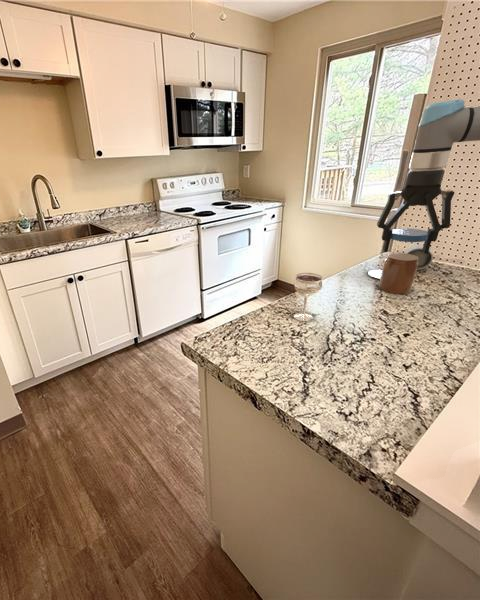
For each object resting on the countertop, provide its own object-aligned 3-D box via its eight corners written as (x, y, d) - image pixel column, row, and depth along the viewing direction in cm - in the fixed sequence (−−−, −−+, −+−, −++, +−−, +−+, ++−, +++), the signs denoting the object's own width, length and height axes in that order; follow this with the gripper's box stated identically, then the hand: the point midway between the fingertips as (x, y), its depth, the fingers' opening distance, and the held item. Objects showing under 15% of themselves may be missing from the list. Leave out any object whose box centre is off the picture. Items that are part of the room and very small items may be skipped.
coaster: (411, 277, 102) (412, 276, 102) (387, 283, 101) (387, 282, 100) (383, 268, 111) (384, 267, 111) (360, 273, 110) (360, 272, 109)
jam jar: (417, 291, 94) (427, 258, 89) (396, 295, 92) (405, 262, 88) (392, 282, 101) (400, 251, 97) (372, 286, 100) (379, 255, 95)
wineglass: (296, 323, 84) (302, 283, 78) (285, 312, 90) (290, 273, 85) (322, 321, 83) (329, 280, 78) (309, 310, 90) (314, 271, 85)
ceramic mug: (427, 263, 112) (433, 243, 108) (429, 271, 106) (435, 249, 102) (390, 261, 117) (394, 241, 114) (390, 268, 112) (395, 247, 108)
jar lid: (400, 233, 95) (402, 227, 94) (434, 238, 88) (436, 231, 87) (382, 238, 92) (384, 232, 91) (416, 244, 85) (417, 237, 84)
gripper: (475, 164, 80) (448, 249, 90) (375, 171, 90) (360, 246, 99) (488, 167, 74) (457, 257, 84) (379, 173, 84) (362, 253, 93)
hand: (404, 251), depth 92 cm, fingers closed on jar lid, 9 cm apart
